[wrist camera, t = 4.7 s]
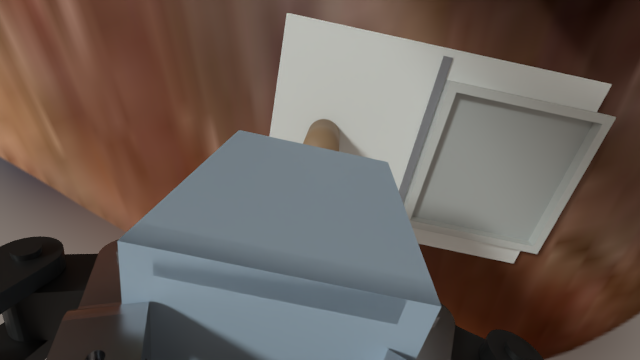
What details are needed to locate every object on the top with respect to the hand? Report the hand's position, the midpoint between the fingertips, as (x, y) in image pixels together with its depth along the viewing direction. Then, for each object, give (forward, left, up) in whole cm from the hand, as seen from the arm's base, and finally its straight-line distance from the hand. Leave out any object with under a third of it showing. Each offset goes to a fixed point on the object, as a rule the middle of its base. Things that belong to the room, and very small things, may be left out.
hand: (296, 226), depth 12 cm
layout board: (+7, 0, -15) cm, 16 cm away
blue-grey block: (0, 0, -1) cm, 1 cm away
